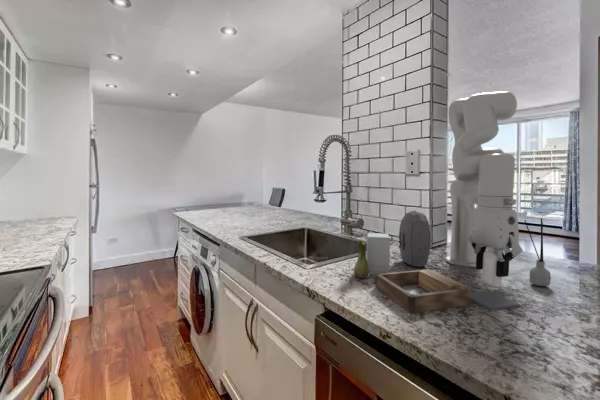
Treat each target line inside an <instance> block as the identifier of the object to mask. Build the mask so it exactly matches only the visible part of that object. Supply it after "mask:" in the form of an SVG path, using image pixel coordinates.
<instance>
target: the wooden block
mask: <svg viewBox="0 0 600 400" xmlns="http://www.w3.org/2000/svg"><path fill="white" fill-rule="evenodd" d="M420 270H421V271H419V284H417V285H418V286H419V287H420V288H422V289H423V290H425V291H427V292H428V293H430V292H438V291H447V290H455V289H463V288H464V284H463V283H461V282H459V281H456V280H454V279H452V278H450V277H448V276H446V275H443V274H441V273H439V272H437V271H435V270H432V269H427V270H423V269H420Z"/></svg>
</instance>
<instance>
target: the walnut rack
mask: <svg viewBox="0 0 600 400" xmlns="http://www.w3.org/2000/svg"><path fill="white" fill-rule="evenodd" d="M421 270H428V269H427V268H426V269H425V268H424V269H416V270H415V269H413V270H404V271H395V272H389V273H383V274H374V275H375V278H374V279H375V281H374V282H375V284H374V287H375V289H377V290H378V291H379V292H381V293H382V294H384V295H385V296H386V297H387V298H389V299H390V300H392V301H393V302H394V303H395V304H397V305H399V306H400V307H402V308H403V309H404V310H405V311H407V312H408V313H409V314H416V313H422V312H429V311H436V310H437V311H438V310H443V309H451V308H452V307H453V308H458V307H459V306H460V307H465V306H471V300H470V293H472V292H471V289H470V288H467V287H465V288H464V287H463V289H455V290H447V291H438V292H423V293H416V294H415V293H414V294H412V293H410V292H409V291H407V290H406V289H404V288H402V287H405V286H406V287H407V286H415V285H418V284H419V271H421ZM453 308H452V309H453Z"/></svg>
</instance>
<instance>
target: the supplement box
mask: <svg viewBox="0 0 600 400" xmlns="http://www.w3.org/2000/svg"><path fill="white" fill-rule="evenodd" d="M390 247H391V237H390V235H389V233H379V232H378V233H370V232H367V233H366V259H367V262H368V266H369V275H370V274H371V275H375V274H383V273H390V249H391V248H390Z"/></svg>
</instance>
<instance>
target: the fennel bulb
mask: <svg viewBox="0 0 600 400" xmlns="http://www.w3.org/2000/svg"><path fill="white" fill-rule="evenodd" d="M366 249H367V242H365V241H364V240H359V242H358V256H357V260H356V262H355V265H354V268H353V274H354V276H355V277H356V278H357V279H365V278H368V277H369V275H370V274H369V266H368V262H367V251H366Z"/></svg>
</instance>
